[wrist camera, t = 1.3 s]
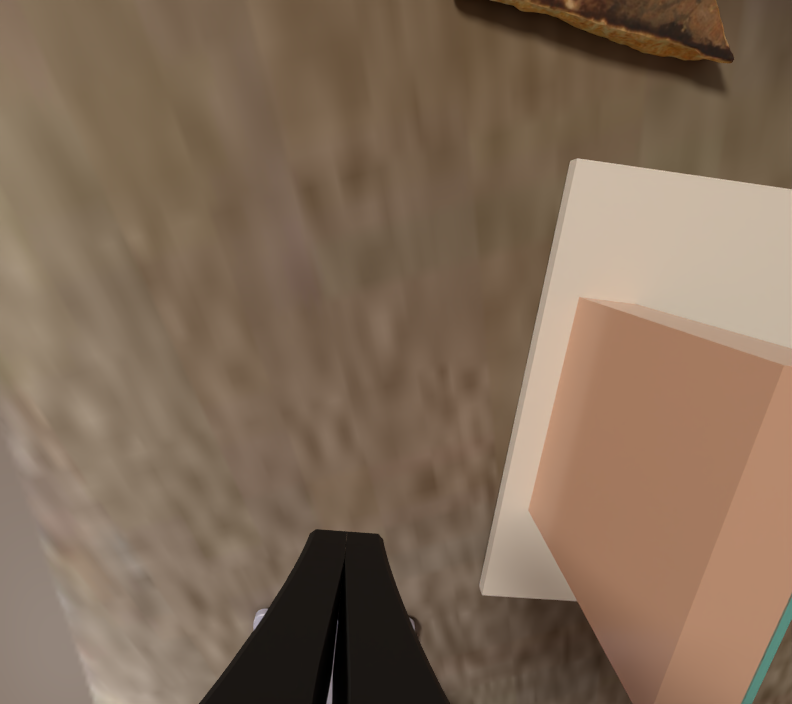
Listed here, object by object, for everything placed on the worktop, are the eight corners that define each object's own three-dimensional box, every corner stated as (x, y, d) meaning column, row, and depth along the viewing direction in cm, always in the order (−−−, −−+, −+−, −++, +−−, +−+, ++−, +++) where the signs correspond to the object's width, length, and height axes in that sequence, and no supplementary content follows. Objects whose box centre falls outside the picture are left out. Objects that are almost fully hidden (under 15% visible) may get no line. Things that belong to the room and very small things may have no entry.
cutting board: (771, 604, 23) (781, 614, 22) (479, 585, 22) (481, 595, 21) (945, 215, 18) (965, 214, 17) (570, 160, 16) (577, 158, 16)
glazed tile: (582, 514, 20) (739, 730, 11) (528, 510, 20) (645, 726, 11) (641, 304, 17) (904, 378, 9) (579, 296, 17) (784, 365, 9)
